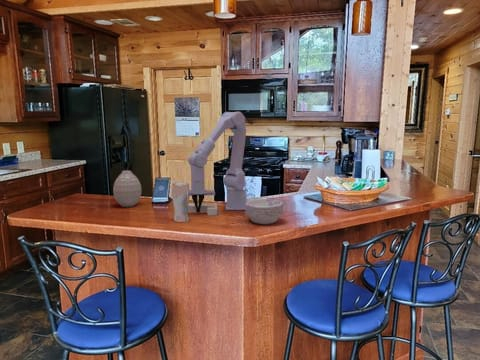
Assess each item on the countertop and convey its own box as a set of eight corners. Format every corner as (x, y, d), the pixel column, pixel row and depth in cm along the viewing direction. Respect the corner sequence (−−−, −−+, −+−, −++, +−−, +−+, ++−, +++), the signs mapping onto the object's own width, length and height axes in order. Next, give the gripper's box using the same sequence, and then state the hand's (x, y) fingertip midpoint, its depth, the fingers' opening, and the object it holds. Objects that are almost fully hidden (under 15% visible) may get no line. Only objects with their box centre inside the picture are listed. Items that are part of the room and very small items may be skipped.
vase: (143, 207, 174) (142, 172, 171) (114, 209, 169) (113, 173, 166) (140, 201, 185) (138, 168, 183) (113, 203, 181) (111, 169, 178)
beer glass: (182, 216, 156) (181, 181, 154) (193, 219, 152) (192, 183, 149) (169, 220, 151) (168, 184, 148) (180, 223, 146) (179, 185, 144)
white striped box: (217, 209, 169) (217, 202, 169) (216, 212, 163) (216, 205, 163) (188, 209, 169) (188, 202, 169) (186, 212, 163) (186, 205, 163)
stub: (217, 212, 163) (217, 205, 163) (216, 215, 158) (216, 208, 158) (208, 212, 163) (208, 205, 162) (207, 215, 158) (207, 208, 158)
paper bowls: (237, 221, 150) (237, 202, 148) (262, 214, 160) (262, 196, 159) (265, 229, 139) (265, 208, 138) (290, 221, 149) (291, 202, 148)
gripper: (214, 179, 163) (214, 209, 165) (181, 179, 161) (181, 210, 163) (215, 181, 156) (215, 213, 158) (180, 182, 154) (181, 214, 156)
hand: (198, 211), depth 160 cm, fingers closed
